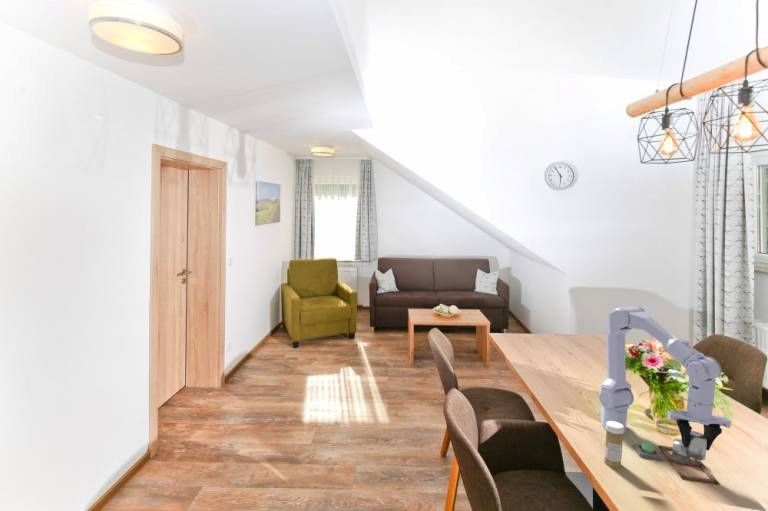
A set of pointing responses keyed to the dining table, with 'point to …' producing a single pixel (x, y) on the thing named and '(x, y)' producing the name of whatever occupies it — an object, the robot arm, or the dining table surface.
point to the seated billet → (679, 451)
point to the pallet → (698, 464)
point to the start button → (647, 447)
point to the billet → (697, 446)
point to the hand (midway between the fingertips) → (695, 446)
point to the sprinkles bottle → (613, 444)
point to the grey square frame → (647, 455)
